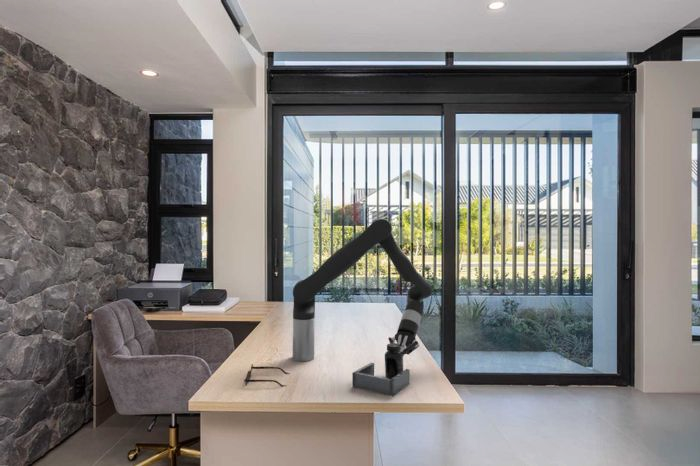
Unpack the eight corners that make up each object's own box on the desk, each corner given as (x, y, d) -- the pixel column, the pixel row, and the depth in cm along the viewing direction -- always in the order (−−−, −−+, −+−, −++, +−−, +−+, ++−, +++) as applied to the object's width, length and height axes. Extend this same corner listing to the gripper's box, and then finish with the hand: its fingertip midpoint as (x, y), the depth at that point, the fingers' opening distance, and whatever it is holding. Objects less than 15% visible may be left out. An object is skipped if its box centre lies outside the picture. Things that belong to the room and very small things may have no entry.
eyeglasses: (250, 374, 161) (251, 361, 161) (290, 374, 162) (290, 361, 162) (244, 388, 146) (244, 374, 146) (287, 388, 147) (287, 373, 147)
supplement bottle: (401, 372, 162) (401, 341, 161) (405, 379, 155) (404, 347, 154) (384, 373, 161) (383, 342, 161) (386, 380, 155) (385, 348, 154)
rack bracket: (371, 375, 159) (371, 362, 159) (409, 383, 152) (409, 369, 152) (352, 387, 147) (352, 372, 147) (392, 396, 140) (392, 380, 140)
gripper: (391, 316, 172) (378, 354, 162) (422, 320, 166) (410, 359, 155) (397, 327, 177) (384, 364, 166) (427, 330, 170) (416, 370, 160)
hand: (397, 362), depth 161 cm, fingers closed
